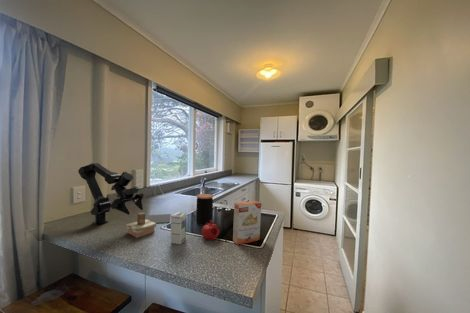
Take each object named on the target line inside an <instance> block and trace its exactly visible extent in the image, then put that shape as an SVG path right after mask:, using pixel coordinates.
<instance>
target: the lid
mask: <svg viewBox="0 0 470 313" xmlns="http://www.w3.org/2000/svg"><path fill="white" fill-rule="evenodd" d="M145 218H146V213H145V212H138V213H137V219H136V220H137V221H133V222H130V223H126V224H125V228H126V229H127V230H128V229H129V230H131V231H133V232H135V233H139V232H142V231H145V230H148V229H151V228H154V229H155V228H157V224H156V223H154V222H152V221H149V220H147V219H145Z"/></svg>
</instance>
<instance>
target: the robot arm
mask: <svg viewBox="0 0 470 313" xmlns="http://www.w3.org/2000/svg"><path fill="white" fill-rule="evenodd" d="M77 172H78V174H79V176H80V177H81V178H82V179H83V180H85V181H86V184H87V186H88V188H89V190H90V193H91V195H92V197H93V199H94V200H93V204H92V206H93V207H92V208H91V211H90V214H91V215H92V216H94V221H92V223H93V224H94V225H95V226H99V225H103V224H106V223H109V221H108V220H107V213H110V211H111V209H112V210H115V211H116V210H117V211H120V212H122V213H124V214H126V215H128V216H129V215H130V211H129V208H127V206H126V203H129V202H133V204H134V205H135V206H136V207H137V208H138V209H140V211H143V210H144V207H143V203H142V200H143V198H144V197H145V195H144V194H143V192H142V193H141V192H140V193H139V191H140V188H139V187H138V186H137V185H136V186H135V185H134V186H133V187H130V188H127V186H129V185H130V183H131V182H132V181H133V180H134V176H133V175H132V174H131V173H129V172H127V171H123V172H122V173H121V174H120V173H118V172H115V171H110V169H107V168H106V167H104V166H103V165H101V164H100V163H98V162H94V163H93V162H92V163H89V164H87V165H84V166H81V167H79V169H78V170H77ZM96 174H98V175H99V176H101V177H103V178H104V182H106V183H107V184H108V185H112V186H111V189H110V190H111V191H115V193H116V194H117V195H116V197H117V198H115V199H114V200H113V201H112V203H111V201H110V199H109V197H105V196H104V194H103V193H102V190H101V188H100V186H99V183H98V181H97V179H96Z"/></svg>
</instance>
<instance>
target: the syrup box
mask: <svg viewBox="0 0 470 313" xmlns="http://www.w3.org/2000/svg"><path fill="white" fill-rule="evenodd" d="M186 224H187V213H185V212H178V211H177V212H175V213H174V214H171V216H170V243H171V244H174V243H176V245H182V244H183V242H185V240H186V239H187V235H186V234H187V232H186V231H187V229H186V228H187V225H186Z"/></svg>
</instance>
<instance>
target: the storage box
mask: <svg viewBox="0 0 470 313" xmlns="http://www.w3.org/2000/svg"><path fill="white" fill-rule="evenodd" d="M154 232H155V227H154V228H151V229H148V230H145V231H142V232H139V233H135V232H133V231H131V230H129V229H127V234H130V235H131V236H133V237H134V238H136V239H138V238H141V237H143V236H146V235H150V234H152V233H154Z"/></svg>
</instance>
